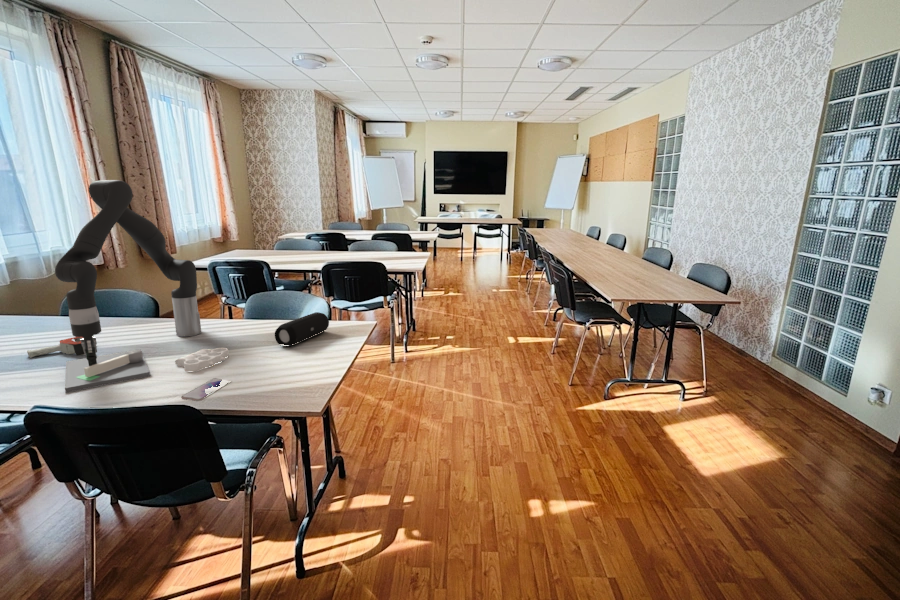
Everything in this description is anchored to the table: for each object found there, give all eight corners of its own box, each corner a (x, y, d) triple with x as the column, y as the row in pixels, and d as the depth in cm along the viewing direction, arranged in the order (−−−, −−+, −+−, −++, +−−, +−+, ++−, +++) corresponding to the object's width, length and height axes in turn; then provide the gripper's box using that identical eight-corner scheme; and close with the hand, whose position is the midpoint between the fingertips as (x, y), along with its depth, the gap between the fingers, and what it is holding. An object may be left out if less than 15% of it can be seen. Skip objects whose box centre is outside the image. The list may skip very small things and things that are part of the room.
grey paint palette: (207, 353, 173) (238, 357, 169) (167, 369, 156) (200, 375, 153) (206, 345, 172) (237, 349, 169) (166, 360, 156) (199, 366, 152)
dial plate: (141, 352, 170) (140, 348, 170) (150, 375, 150) (149, 371, 149) (66, 365, 157) (66, 361, 156) (65, 392, 136) (64, 388, 135)
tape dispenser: (24, 362, 163) (71, 362, 160) (19, 349, 162) (67, 349, 159) (69, 344, 180) (112, 344, 177) (65, 332, 178) (109, 332, 176)
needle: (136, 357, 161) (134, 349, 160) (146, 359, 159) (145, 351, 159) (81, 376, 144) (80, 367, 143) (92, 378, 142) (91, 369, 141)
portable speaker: (292, 350, 178) (291, 327, 176) (273, 346, 182) (271, 323, 179) (331, 333, 201) (330, 312, 199) (313, 330, 205) (312, 309, 202)
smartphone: (232, 380, 147) (200, 399, 133) (232, 382, 147) (200, 402, 133) (213, 377, 148) (179, 396, 134) (214, 380, 149) (179, 399, 134)
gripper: (100, 323, 142) (109, 372, 146) (98, 314, 152) (106, 360, 156) (70, 327, 137) (79, 378, 141) (70, 317, 147) (79, 365, 151)
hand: (93, 368), depth 149 cm, fingers closed
